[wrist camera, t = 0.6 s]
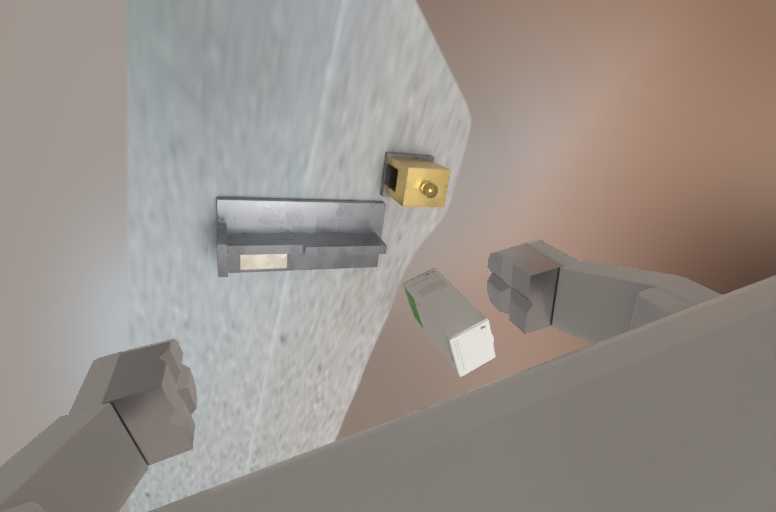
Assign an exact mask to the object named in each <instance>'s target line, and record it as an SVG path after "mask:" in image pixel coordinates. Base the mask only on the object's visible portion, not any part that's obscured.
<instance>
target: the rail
mask: <svg viewBox="0 0 776 512" xmlns="http://www.w3.org/2000/svg"><path fill="white" fill-rule="evenodd" d="M385 205H386V204H385V203H384V202H383V201H352V200H313V199H275V198H237V197H217V212H218V233H217V258H218V277H228V273H239V272H264V271H288V270H312V269H336V268H360V267H377V264H378V257H379V254H386V248H387V245H386V244H385V243H384V242H383V241H382V240H381V234H382V227H383V220H384V212H385Z"/></svg>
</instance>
